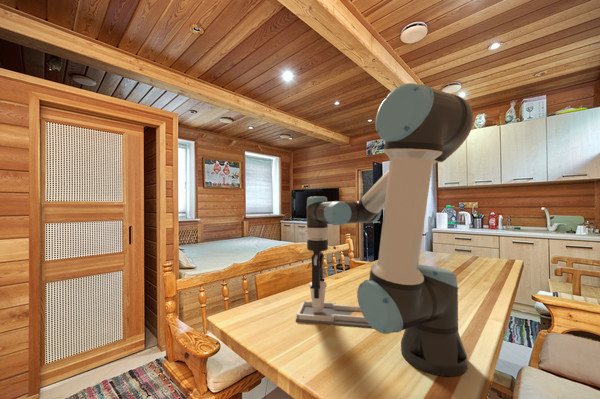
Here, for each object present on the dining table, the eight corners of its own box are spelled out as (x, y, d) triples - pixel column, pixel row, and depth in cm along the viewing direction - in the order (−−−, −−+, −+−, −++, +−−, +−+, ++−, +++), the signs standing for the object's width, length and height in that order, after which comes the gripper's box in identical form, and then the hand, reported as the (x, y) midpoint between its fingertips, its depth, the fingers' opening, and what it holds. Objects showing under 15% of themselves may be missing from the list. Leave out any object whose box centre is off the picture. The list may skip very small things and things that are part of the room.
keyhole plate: (375, 327, 80) (374, 321, 80) (295, 321, 85) (295, 315, 85) (371, 310, 93) (371, 304, 93) (302, 305, 98) (302, 300, 98)
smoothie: (326, 307, 93) (326, 269, 94) (327, 314, 87) (326, 273, 87) (309, 306, 94) (309, 268, 94) (308, 313, 87) (308, 273, 88)
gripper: (311, 235, 101) (311, 293, 100) (302, 242, 82) (303, 313, 82) (329, 235, 100) (330, 294, 99) (325, 243, 81) (326, 315, 80)
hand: (318, 302), depth 90 cm, fingers closed on smoothie, 6 cm apart
